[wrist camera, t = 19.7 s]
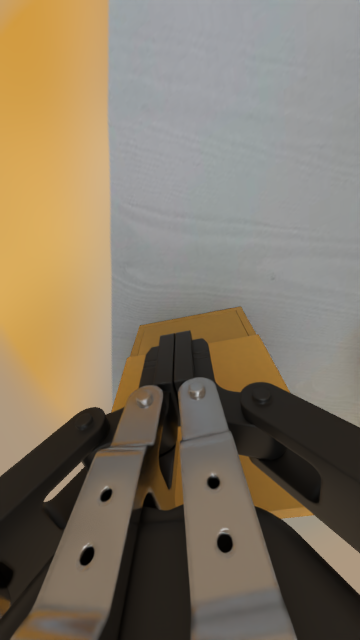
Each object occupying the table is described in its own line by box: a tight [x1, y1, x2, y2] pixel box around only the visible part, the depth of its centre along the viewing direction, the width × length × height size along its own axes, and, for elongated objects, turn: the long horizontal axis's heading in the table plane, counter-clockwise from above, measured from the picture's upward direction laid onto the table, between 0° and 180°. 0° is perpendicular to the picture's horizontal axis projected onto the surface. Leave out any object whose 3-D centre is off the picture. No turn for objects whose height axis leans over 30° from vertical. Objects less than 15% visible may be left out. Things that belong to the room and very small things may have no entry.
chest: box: [130, 307, 256, 357], centre depth 29 cm, size 13×13×7 cm
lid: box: [111, 335, 314, 519], centre depth 17 cm, size 14×13×1 cm
